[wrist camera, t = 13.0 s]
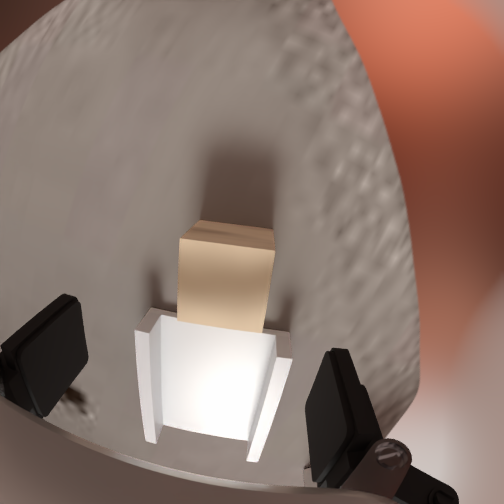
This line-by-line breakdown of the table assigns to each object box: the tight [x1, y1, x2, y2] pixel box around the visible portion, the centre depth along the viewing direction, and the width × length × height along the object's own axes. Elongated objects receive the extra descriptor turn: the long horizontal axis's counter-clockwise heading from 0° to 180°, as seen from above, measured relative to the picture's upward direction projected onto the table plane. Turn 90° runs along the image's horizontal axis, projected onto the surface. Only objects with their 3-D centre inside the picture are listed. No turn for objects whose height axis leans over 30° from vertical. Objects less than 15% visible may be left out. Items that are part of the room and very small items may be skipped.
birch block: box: [177, 220, 275, 333], centre depth 20 cm, size 6×6×6 cm
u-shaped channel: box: [135, 307, 293, 462], centre depth 25 cm, size 15×12×4 cm
